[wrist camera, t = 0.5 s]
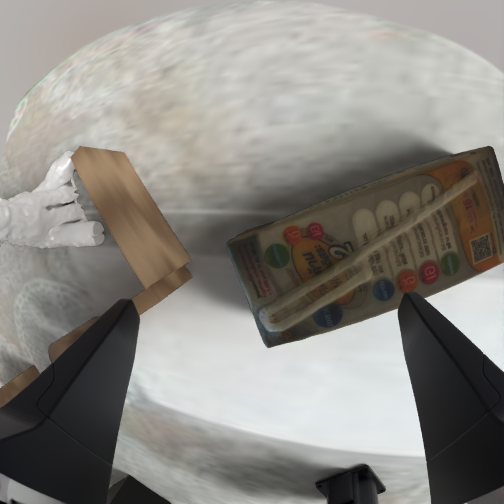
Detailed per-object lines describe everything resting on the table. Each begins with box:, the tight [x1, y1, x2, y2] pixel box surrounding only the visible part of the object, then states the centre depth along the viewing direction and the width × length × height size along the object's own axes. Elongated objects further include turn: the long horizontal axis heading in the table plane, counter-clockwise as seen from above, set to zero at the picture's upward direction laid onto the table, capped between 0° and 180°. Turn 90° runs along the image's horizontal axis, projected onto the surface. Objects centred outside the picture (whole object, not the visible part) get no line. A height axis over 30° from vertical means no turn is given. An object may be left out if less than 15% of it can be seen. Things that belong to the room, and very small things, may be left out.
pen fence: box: [0, 146, 192, 407], centre depth 26 cm, size 14×40×9 cm, turn 124°
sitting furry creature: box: [0, 151, 105, 249], centre depth 21 cm, size 10×9×12 cm
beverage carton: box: [226, 146, 504, 348], centre depth 19 cm, size 8×19×6 cm, turn 112°
